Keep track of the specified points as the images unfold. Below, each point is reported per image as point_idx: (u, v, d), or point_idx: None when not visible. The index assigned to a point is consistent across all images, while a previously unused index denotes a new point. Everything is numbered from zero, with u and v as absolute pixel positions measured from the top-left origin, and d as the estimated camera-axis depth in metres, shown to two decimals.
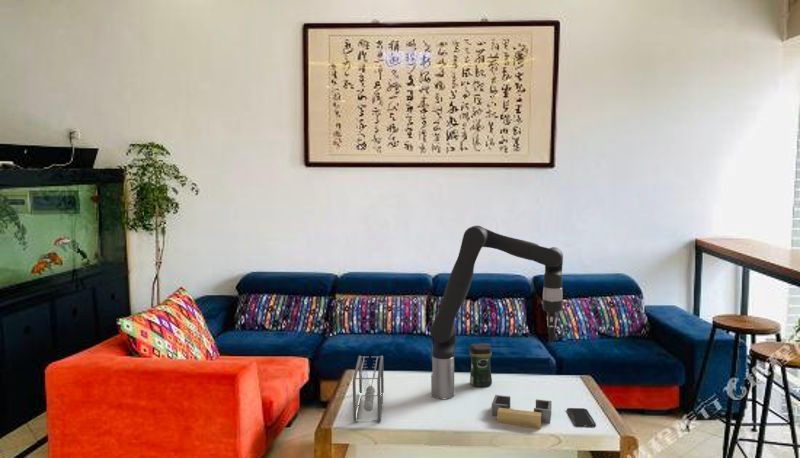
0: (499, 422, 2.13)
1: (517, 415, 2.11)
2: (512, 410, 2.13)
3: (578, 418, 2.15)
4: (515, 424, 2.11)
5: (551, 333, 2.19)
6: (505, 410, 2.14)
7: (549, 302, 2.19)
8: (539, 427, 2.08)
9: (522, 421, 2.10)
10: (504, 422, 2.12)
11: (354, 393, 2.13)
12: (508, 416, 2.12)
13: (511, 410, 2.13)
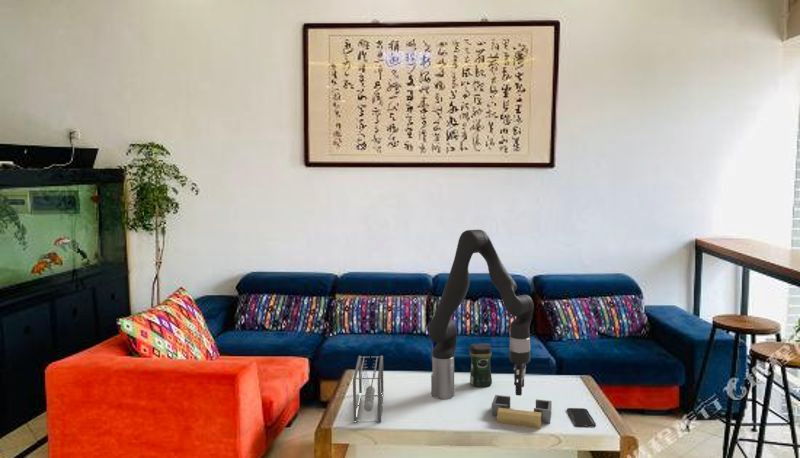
0: (499, 422, 2.13)
1: (517, 415, 2.11)
2: (512, 410, 2.13)
3: (578, 418, 2.15)
4: (515, 424, 2.11)
5: (518, 386, 2.06)
6: (505, 410, 2.14)
7: (516, 353, 2.07)
8: (539, 427, 2.08)
9: (522, 421, 2.10)
10: (504, 422, 2.12)
11: (354, 393, 2.13)
12: (508, 416, 2.12)
13: (511, 410, 2.13)
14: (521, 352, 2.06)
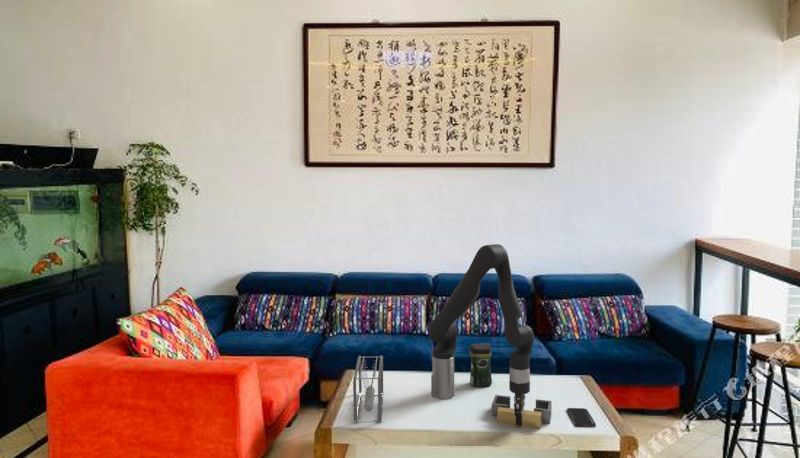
0: (499, 421, 2.13)
1: None
2: (512, 409, 2.13)
3: (578, 418, 2.15)
4: (515, 423, 2.11)
5: (518, 417, 2.09)
6: (505, 409, 2.14)
7: (515, 384, 2.08)
8: (539, 426, 2.08)
9: (522, 420, 2.10)
10: (504, 421, 2.12)
11: (355, 393, 2.13)
12: (508, 416, 2.12)
13: (511, 409, 2.13)
14: (521, 383, 2.07)
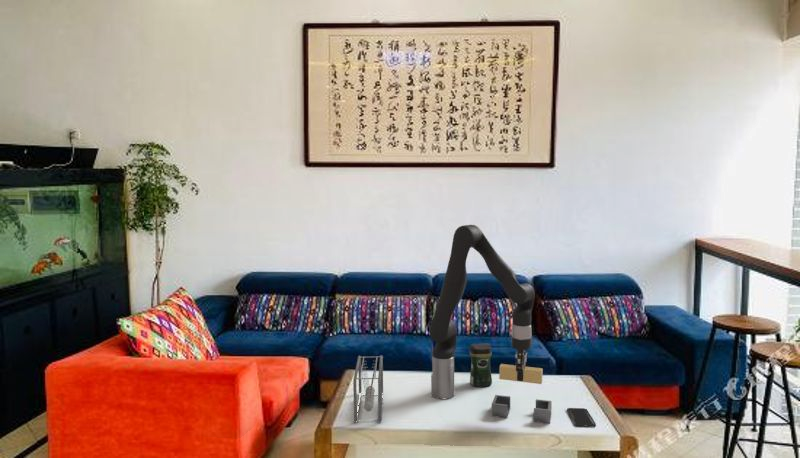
0: (501, 377, 2.19)
1: None
2: (514, 366, 2.19)
3: (578, 418, 2.15)
4: None
5: (520, 372, 2.15)
6: (507, 365, 2.20)
7: (517, 340, 2.14)
8: (540, 382, 2.14)
9: (524, 376, 2.16)
10: (506, 377, 2.18)
11: (355, 393, 2.13)
12: (510, 371, 2.18)
13: (513, 366, 2.19)
14: (522, 339, 2.13)
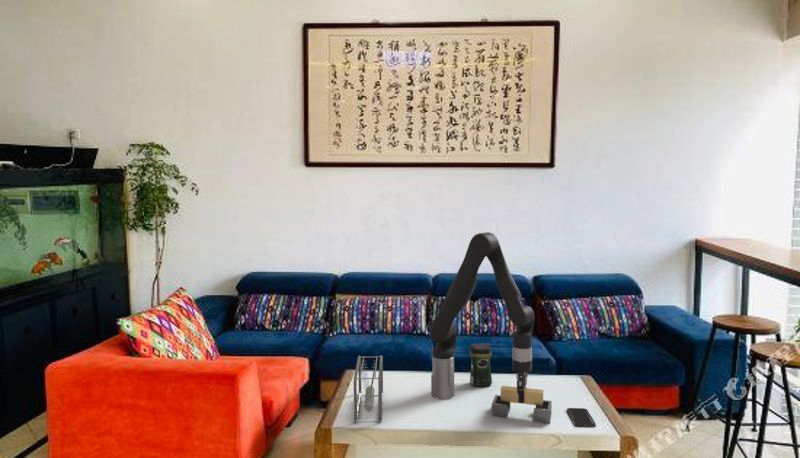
0: (502, 399, 2.20)
1: None
2: (515, 388, 2.21)
3: (578, 418, 2.15)
4: None
5: (521, 395, 2.17)
6: (508, 387, 2.21)
7: (518, 362, 2.15)
8: (541, 403, 2.16)
9: (525, 398, 2.18)
10: (507, 399, 2.20)
11: (355, 393, 2.13)
12: (511, 393, 2.19)
13: (514, 388, 2.21)
14: (523, 361, 2.14)
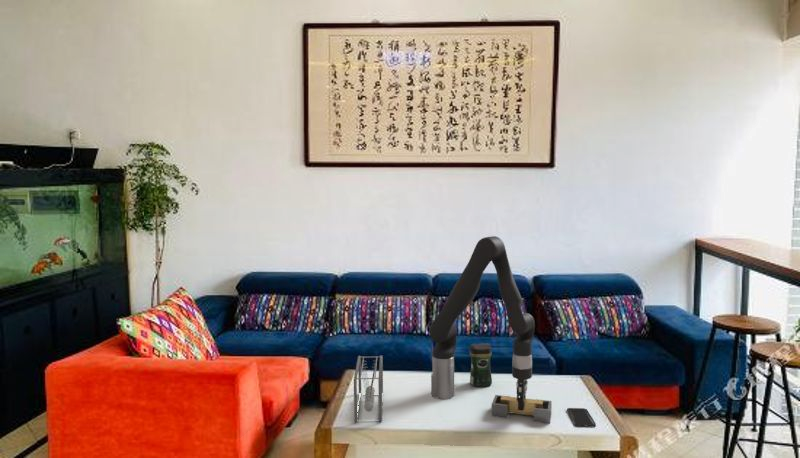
0: None
1: None
2: (515, 398, 2.21)
3: (578, 418, 2.15)
4: (518, 411, 2.19)
5: (520, 402, 2.16)
6: (508, 398, 2.22)
7: (518, 370, 2.15)
8: None
9: (525, 408, 2.18)
10: None
11: (355, 393, 2.13)
12: (510, 404, 2.20)
13: (514, 398, 2.21)
14: (523, 368, 2.15)
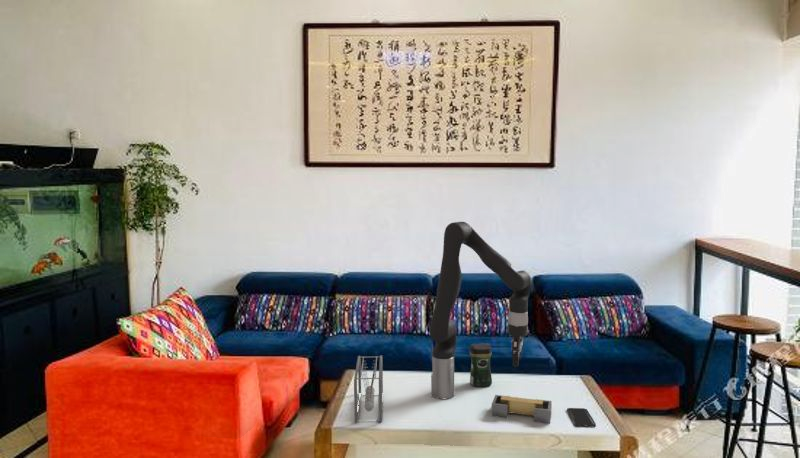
0: None
1: (519, 403, 2.19)
2: (515, 398, 2.21)
3: (578, 418, 2.15)
4: (518, 411, 2.19)
5: (515, 358, 2.15)
6: (508, 398, 2.22)
7: (514, 326, 2.15)
8: None
9: (525, 408, 2.18)
10: None
11: (355, 393, 2.13)
12: (510, 404, 2.20)
13: (514, 398, 2.21)
14: (519, 325, 2.15)
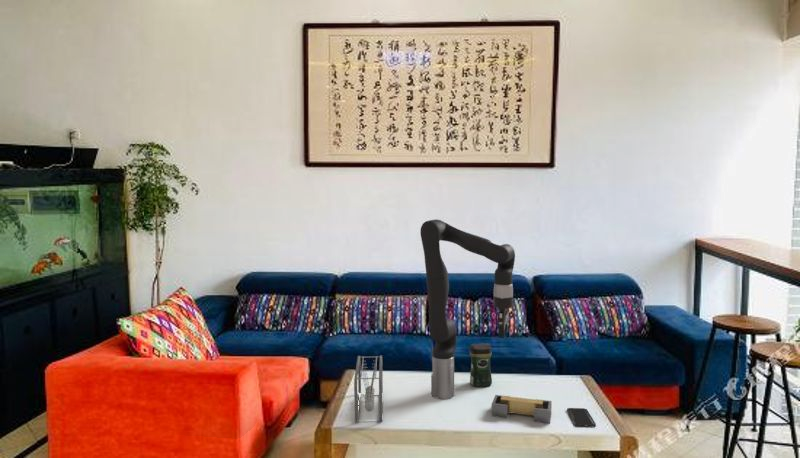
0: None
1: (519, 403, 2.19)
2: (515, 398, 2.21)
3: (578, 418, 2.15)
4: (518, 411, 2.19)
5: (501, 330, 2.19)
6: (508, 398, 2.22)
7: (499, 299, 2.20)
8: None
9: (525, 408, 2.18)
10: None
11: (356, 393, 2.13)
12: (510, 404, 2.20)
13: (514, 398, 2.21)
14: (504, 297, 2.19)
